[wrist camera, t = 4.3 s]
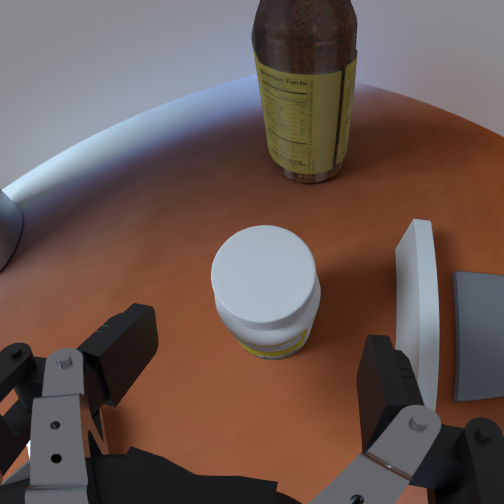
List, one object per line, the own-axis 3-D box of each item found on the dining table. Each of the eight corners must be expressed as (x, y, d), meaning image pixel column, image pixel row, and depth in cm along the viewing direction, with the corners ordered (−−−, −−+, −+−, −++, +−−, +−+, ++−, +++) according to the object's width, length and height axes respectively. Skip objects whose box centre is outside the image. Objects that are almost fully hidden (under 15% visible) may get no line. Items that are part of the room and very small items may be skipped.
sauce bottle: (312, 125, 27) (309, -91, 9) (359, 167, 24) (393, -82, 6) (251, 155, 26) (210, -87, 8) (295, 203, 23) (284, -97, 5)
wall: (387, 427, 15) (412, 432, 12) (395, 249, 20) (413, 218, 17) (405, 427, 15) (432, 431, 11) (410, 251, 20) (430, 221, 17)
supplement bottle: (265, 274, 21) (252, 196, 13) (326, 313, 19) (350, 254, 12) (219, 331, 19) (176, 283, 12) (280, 376, 18) (277, 359, 10)
